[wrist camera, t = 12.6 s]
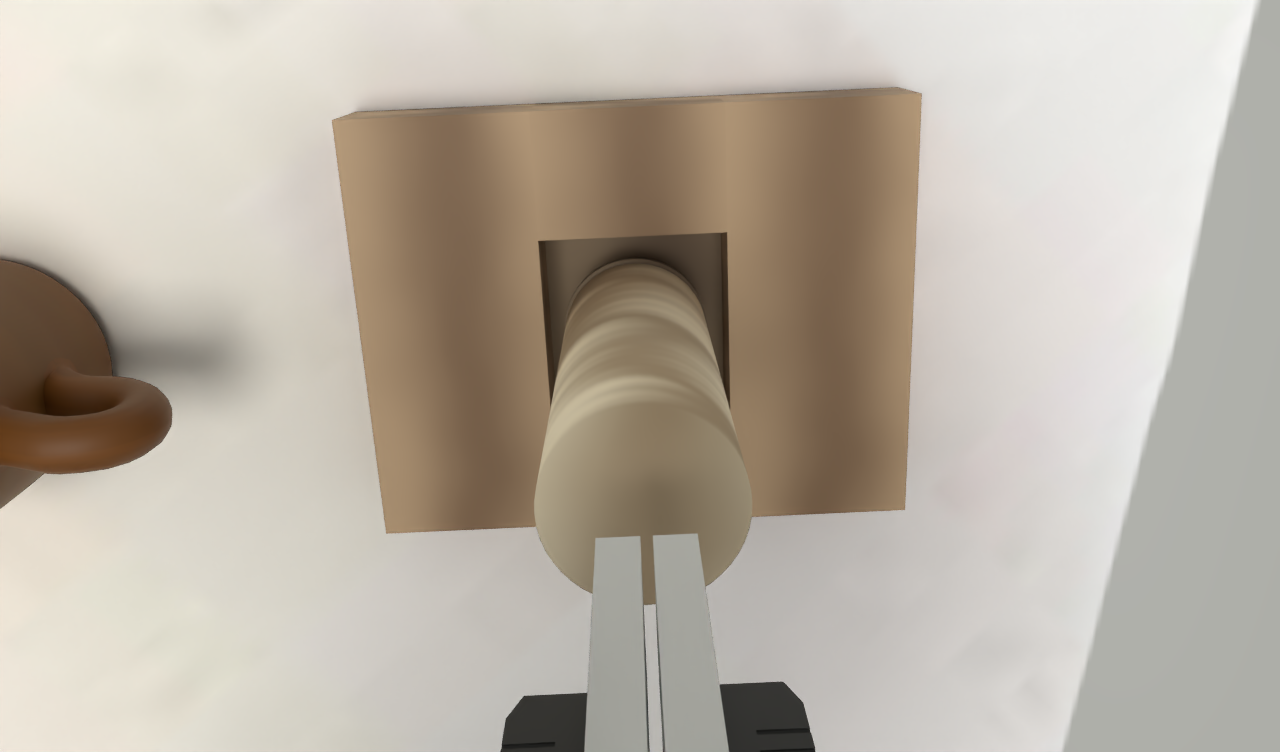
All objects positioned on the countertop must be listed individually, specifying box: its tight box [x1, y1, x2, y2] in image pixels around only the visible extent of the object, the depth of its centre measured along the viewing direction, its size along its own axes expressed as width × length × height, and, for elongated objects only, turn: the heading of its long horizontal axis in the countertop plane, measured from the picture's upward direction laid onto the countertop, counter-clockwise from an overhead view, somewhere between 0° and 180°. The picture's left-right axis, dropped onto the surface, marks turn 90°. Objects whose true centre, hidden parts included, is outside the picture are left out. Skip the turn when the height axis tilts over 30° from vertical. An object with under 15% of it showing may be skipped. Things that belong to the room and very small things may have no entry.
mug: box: [0, 260, 172, 509], centre depth 34 cm, size 12×8×9 cm, turn 91°
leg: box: [534, 257, 752, 605], centre depth 30 cm, size 5×5×16 cm
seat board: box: [332, 87, 922, 533], centre depth 36 cm, size 18×14×3 cm
